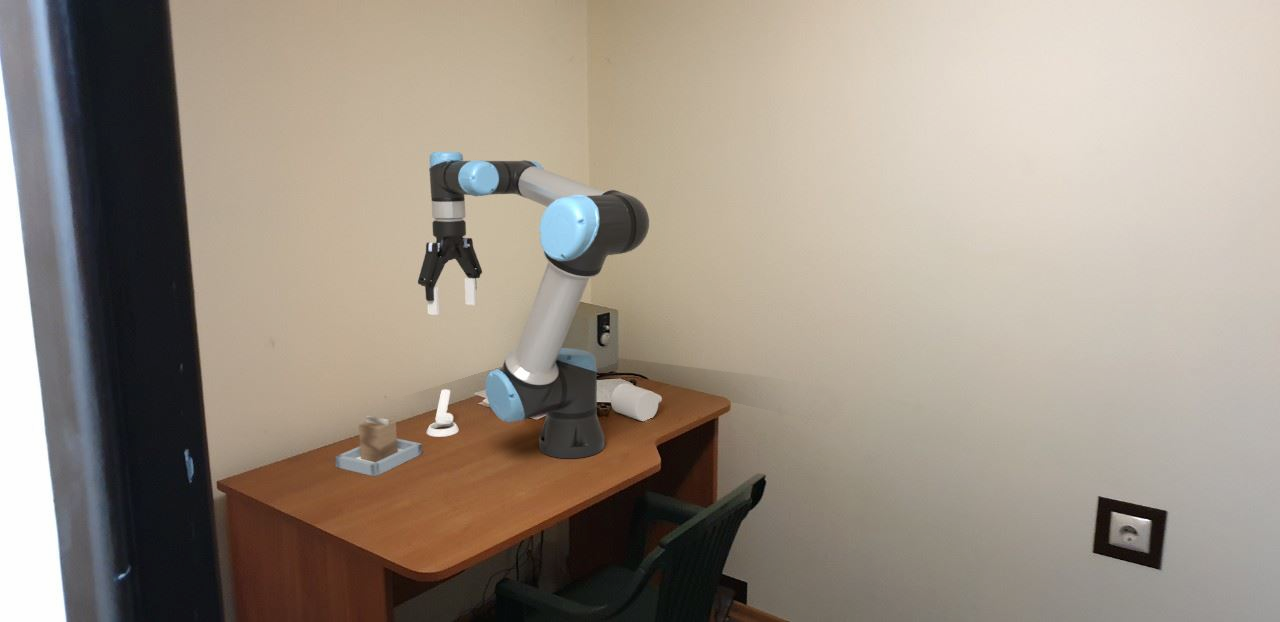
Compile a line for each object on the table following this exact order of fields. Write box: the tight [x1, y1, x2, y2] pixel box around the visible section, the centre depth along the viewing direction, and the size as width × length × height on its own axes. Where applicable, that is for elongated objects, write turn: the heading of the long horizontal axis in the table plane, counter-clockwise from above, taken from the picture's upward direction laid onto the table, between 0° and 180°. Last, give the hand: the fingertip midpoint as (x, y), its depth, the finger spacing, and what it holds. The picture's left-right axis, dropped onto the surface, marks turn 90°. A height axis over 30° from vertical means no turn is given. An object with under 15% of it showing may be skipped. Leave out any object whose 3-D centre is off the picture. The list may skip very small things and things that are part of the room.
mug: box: [610, 382, 663, 422], centre depth 201 cm, size 12×10×8 cm
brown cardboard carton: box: [358, 415, 398, 462], centre depth 170 cm, size 6×5×9 cm
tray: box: [334, 438, 423, 477], centre depth 171 cm, size 11×14×2 cm
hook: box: [426, 389, 459, 438], centre depth 191 cm, size 8×12×7 cm
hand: (452, 309), depth 183 cm, fingers open, 13 cm apart
